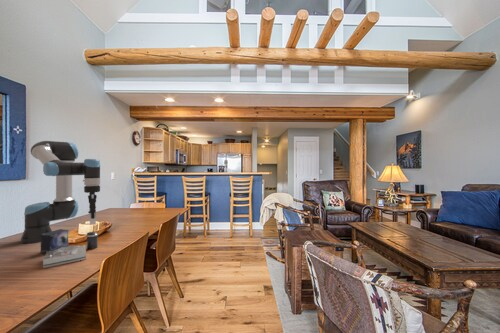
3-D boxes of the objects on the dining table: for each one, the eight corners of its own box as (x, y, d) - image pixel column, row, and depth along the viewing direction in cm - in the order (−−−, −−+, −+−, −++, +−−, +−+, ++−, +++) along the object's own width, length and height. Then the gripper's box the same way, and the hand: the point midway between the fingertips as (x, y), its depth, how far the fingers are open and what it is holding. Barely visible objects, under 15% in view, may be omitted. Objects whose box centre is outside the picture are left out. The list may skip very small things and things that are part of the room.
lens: (86, 247, 127) (86, 232, 127) (97, 245, 130) (97, 230, 130) (86, 250, 123) (86, 234, 123) (97, 248, 126) (97, 233, 126)
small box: (49, 254, 117) (49, 235, 117) (39, 253, 119) (39, 234, 119) (69, 247, 128) (69, 229, 128) (60, 246, 129) (60, 228, 129)
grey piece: (46, 259, 111) (46, 249, 111) (85, 251, 121) (85, 242, 121) (43, 268, 101) (43, 257, 101) (86, 259, 111) (86, 249, 111)
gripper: (84, 184, 134) (84, 218, 134) (84, 187, 114) (84, 227, 114) (99, 183, 138) (99, 217, 138) (101, 186, 119) (101, 225, 119)
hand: (92, 221), depth 126 cm, fingers open, 13 cm apart
